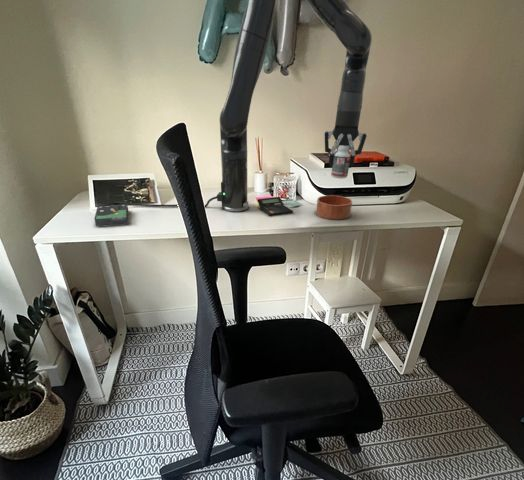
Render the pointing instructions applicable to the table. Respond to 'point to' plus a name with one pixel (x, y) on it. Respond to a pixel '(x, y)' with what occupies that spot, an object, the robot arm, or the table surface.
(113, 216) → the disk drive
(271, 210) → the calculator
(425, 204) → the table surface
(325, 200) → the dish
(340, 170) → the pill bottle
